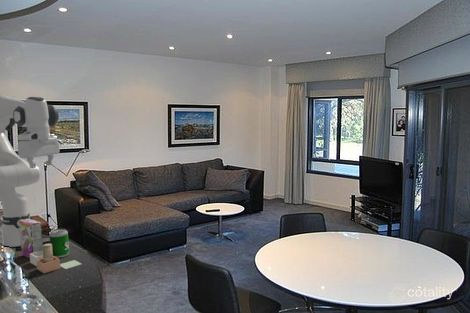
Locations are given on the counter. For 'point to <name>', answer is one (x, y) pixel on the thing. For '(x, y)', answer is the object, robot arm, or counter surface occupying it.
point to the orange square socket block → (48, 265)
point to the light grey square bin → (36, 257)
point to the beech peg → (47, 253)
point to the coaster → (70, 264)
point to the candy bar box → (30, 236)
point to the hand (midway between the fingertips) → (41, 166)
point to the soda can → (59, 243)
